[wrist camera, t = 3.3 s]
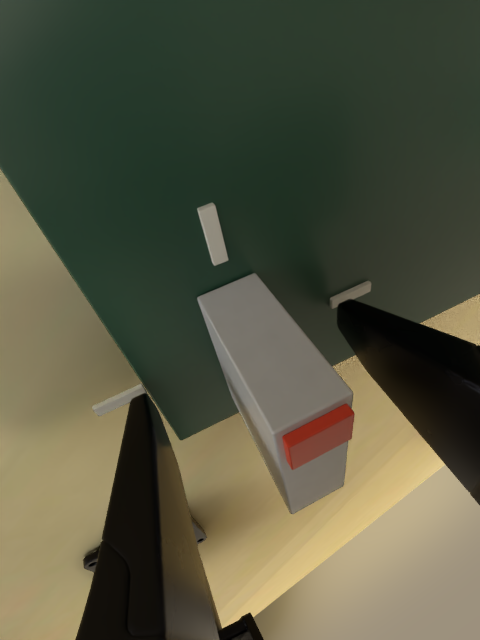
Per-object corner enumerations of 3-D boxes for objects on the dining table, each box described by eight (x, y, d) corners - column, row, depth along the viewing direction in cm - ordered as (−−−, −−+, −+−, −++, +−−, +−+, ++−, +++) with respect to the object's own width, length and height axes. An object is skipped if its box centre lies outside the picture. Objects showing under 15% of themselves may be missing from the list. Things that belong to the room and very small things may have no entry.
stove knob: (274, 376, 12) (350, 494, 9) (231, 397, 12) (295, 525, 9) (255, 271, 9) (363, 403, 6) (196, 296, 9) (279, 447, 6)
